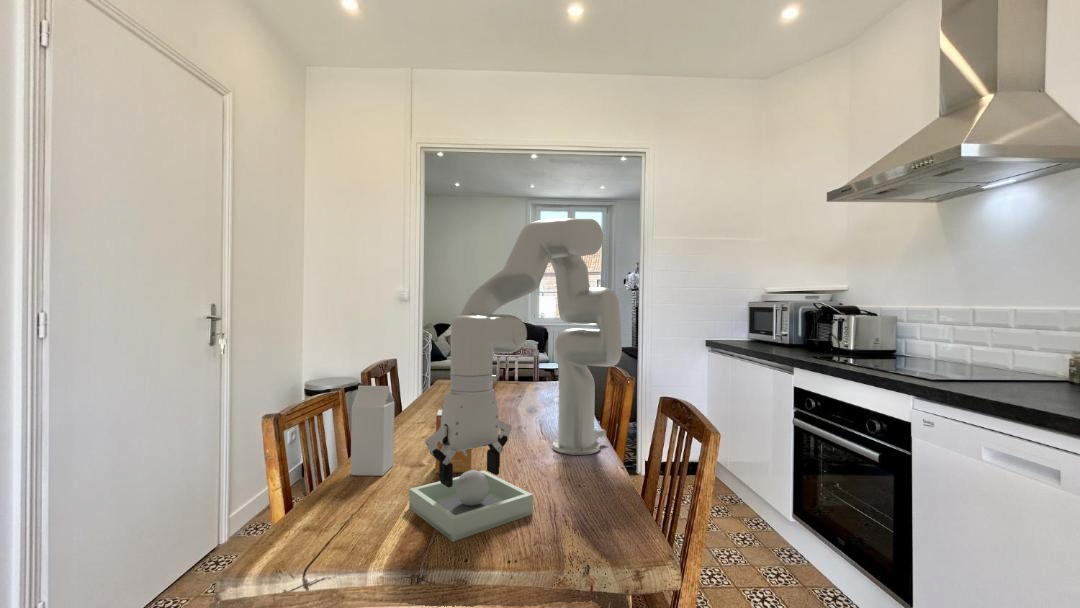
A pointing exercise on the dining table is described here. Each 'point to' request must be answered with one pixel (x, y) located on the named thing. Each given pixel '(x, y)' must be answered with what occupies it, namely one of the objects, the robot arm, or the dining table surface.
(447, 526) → the tray
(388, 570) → the dining table surface
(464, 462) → the small box
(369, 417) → the milk carton
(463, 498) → the ball
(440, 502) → the felt pad
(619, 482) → the dining table surface
